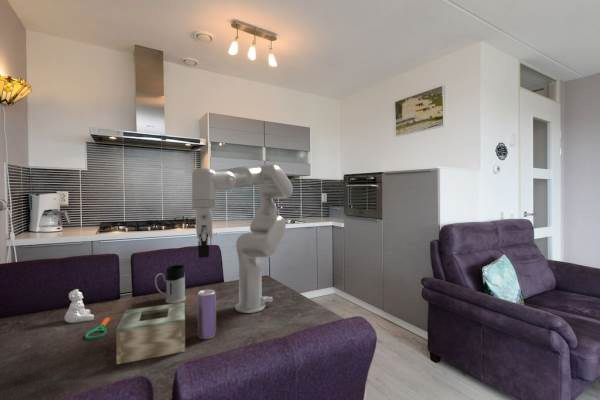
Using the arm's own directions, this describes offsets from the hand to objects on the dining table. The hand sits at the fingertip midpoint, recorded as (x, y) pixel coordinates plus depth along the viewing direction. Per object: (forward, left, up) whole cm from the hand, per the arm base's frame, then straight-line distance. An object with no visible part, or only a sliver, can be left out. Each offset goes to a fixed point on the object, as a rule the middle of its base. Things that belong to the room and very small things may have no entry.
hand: (203, 254), depth 100 cm
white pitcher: (+12, -38, -28) cm, 49 cm away
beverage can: (-1, +2, -28) cm, 28 cm away
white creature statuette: (+44, -30, -28) cm, 60 cm away
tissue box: (+15, +2, -28) cm, 31 cm away
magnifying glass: (+34, -18, -28) cm, 48 cm away
